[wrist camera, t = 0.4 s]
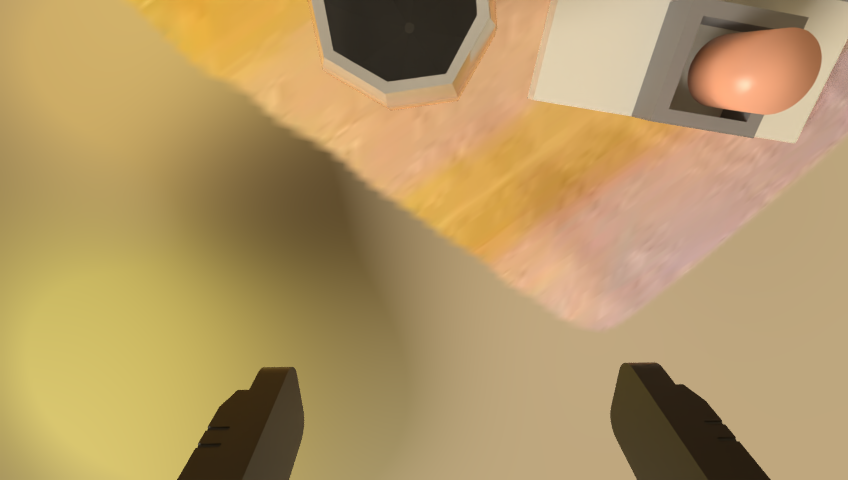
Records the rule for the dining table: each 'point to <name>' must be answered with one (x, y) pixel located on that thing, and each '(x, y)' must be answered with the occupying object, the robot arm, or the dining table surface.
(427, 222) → the dining table surface
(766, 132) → the console
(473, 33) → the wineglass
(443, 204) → the dining table surface
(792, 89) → the coral button
